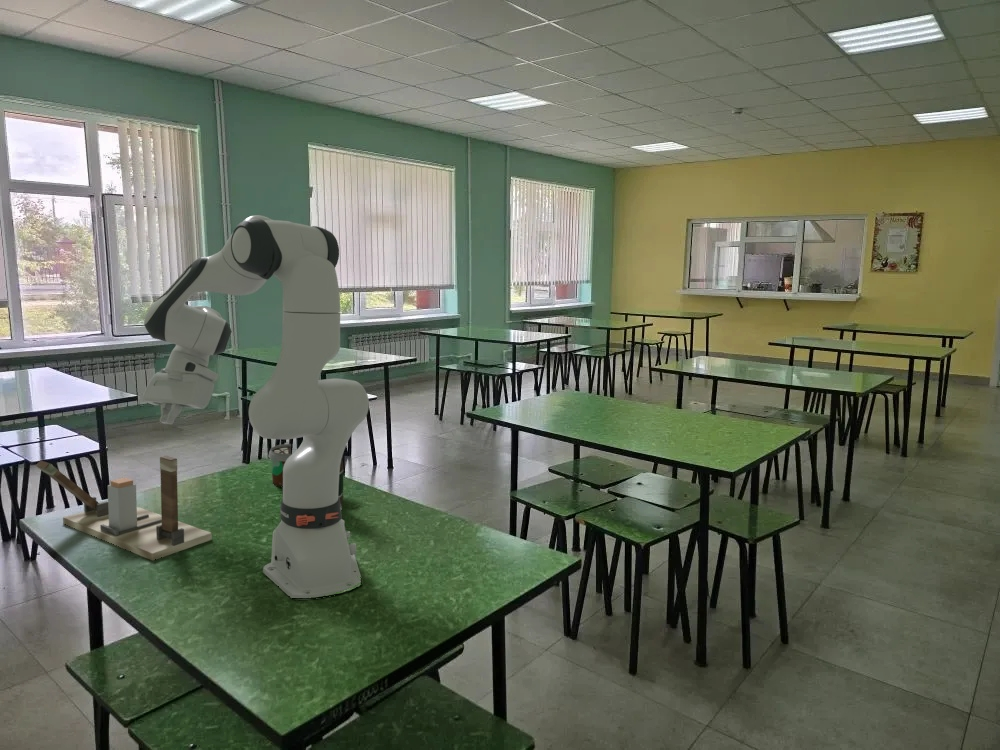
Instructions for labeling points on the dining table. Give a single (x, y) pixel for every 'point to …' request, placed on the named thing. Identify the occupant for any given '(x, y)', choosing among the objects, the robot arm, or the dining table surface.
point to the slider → (122, 504)
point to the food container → (279, 462)
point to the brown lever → (169, 495)
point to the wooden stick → (67, 484)
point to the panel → (137, 532)
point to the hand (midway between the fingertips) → (165, 423)
